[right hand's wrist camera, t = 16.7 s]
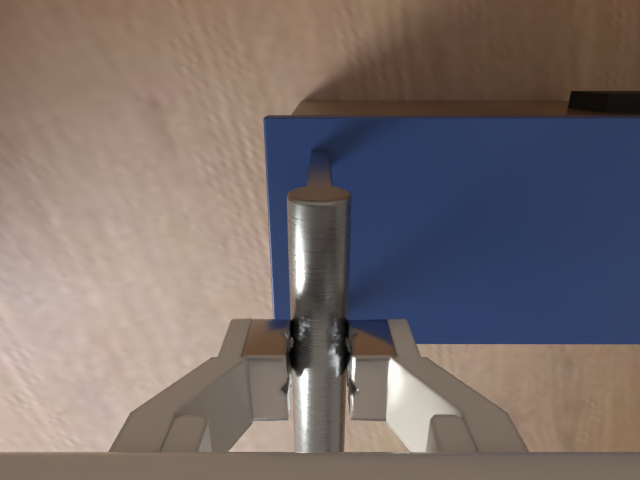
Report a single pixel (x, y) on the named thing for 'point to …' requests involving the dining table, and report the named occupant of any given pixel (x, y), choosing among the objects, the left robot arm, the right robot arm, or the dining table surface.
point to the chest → (447, 108)
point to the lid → (447, 237)
